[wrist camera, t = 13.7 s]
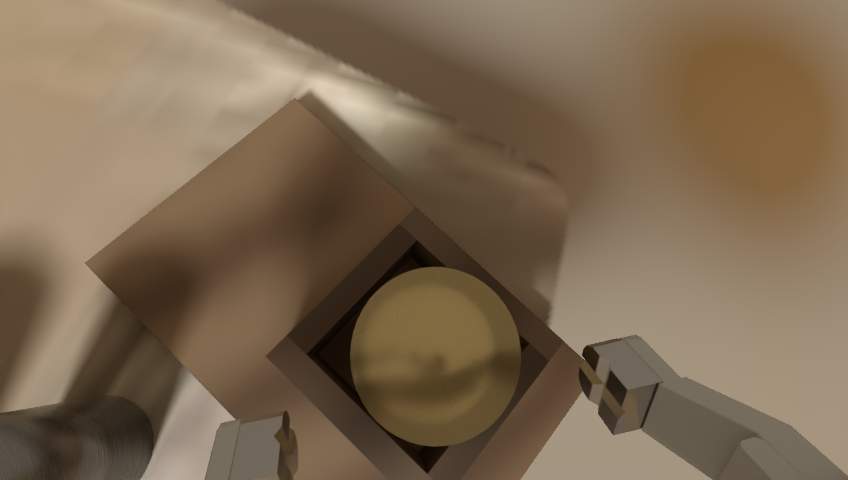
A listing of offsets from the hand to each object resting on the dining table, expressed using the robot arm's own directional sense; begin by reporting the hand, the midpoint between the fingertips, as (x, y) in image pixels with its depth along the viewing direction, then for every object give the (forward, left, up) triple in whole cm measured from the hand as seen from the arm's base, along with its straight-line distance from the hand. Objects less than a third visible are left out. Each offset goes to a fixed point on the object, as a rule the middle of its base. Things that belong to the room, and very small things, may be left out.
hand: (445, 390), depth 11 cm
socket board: (-4, 0, -9) cm, 10 cm away
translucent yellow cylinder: (-1, +1, -7) cm, 7 cm away
